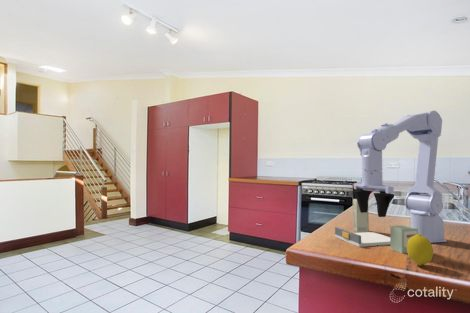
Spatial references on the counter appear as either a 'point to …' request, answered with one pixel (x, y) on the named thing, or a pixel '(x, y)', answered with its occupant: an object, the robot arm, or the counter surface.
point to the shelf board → (362, 238)
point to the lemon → (419, 249)
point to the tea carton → (401, 237)
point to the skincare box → (360, 219)
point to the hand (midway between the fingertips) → (372, 214)
